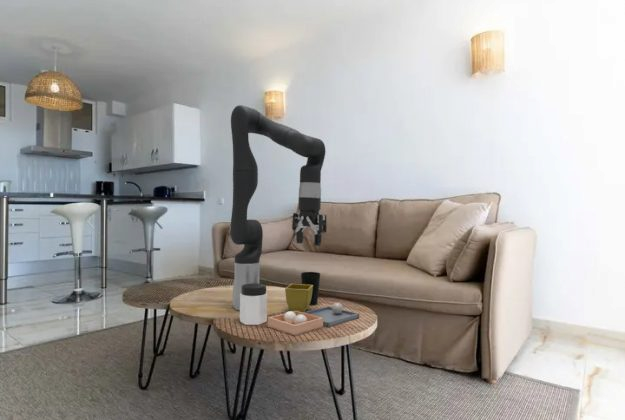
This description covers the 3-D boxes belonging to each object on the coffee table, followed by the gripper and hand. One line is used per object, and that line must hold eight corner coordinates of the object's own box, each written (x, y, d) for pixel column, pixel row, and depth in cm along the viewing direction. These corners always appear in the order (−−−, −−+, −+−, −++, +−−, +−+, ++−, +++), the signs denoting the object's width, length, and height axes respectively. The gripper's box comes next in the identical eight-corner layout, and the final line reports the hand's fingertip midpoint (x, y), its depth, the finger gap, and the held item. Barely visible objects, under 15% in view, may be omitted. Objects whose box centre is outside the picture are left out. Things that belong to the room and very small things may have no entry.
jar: (270, 323, 130) (271, 286, 130) (247, 327, 125) (247, 289, 125) (259, 316, 137) (259, 282, 137) (236, 320, 133) (237, 284, 133)
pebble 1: (291, 327, 124) (291, 314, 124) (300, 324, 127) (300, 312, 127) (300, 329, 121) (300, 316, 121) (309, 327, 124) (309, 314, 124)
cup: (319, 306, 154) (320, 275, 154) (300, 305, 154) (300, 274, 154) (319, 301, 161) (320, 272, 161) (301, 301, 162) (301, 271, 162)
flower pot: (308, 314, 141) (308, 289, 141) (284, 313, 143) (284, 288, 143) (313, 308, 150) (313, 284, 150) (290, 307, 152) (290, 283, 151)
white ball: (281, 323, 128) (281, 311, 128) (290, 322, 130) (290, 310, 131) (289, 325, 125) (289, 311, 125) (298, 323, 128) (298, 311, 128)
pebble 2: (329, 313, 140) (329, 302, 140) (336, 312, 143) (336, 300, 143) (337, 316, 138) (338, 304, 138) (345, 314, 140) (345, 302, 140)
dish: (267, 326, 126) (268, 317, 126) (296, 319, 135) (296, 310, 135) (294, 336, 117) (294, 325, 117) (323, 327, 126) (323, 318, 126)
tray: (296, 318, 136) (296, 313, 136) (328, 310, 148) (328, 306, 148) (327, 327, 126) (328, 322, 126) (359, 317, 138) (359, 313, 138)
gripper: (287, 196, 136) (286, 243, 136) (316, 196, 126) (315, 247, 126) (303, 196, 141) (302, 242, 142) (332, 197, 131) (331, 245, 131)
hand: (308, 244), depth 134 cm, fingers open, 8 cm apart
